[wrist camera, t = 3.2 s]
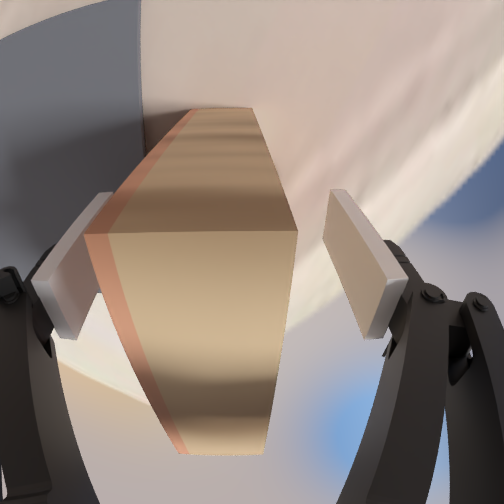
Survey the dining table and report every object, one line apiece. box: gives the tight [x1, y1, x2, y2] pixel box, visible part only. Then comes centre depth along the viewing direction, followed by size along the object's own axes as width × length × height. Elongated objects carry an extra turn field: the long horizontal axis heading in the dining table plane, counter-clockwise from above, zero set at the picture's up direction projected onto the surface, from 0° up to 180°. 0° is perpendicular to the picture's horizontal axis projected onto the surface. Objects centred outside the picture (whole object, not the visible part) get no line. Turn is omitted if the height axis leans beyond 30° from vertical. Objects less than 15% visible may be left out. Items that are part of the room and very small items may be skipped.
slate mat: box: [0, 0, 146, 293], centre depth 14 cm, size 18×20×1 cm
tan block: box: [84, 108, 298, 455], centre depth 11 cm, size 9×3×12 cm, turn 179°
